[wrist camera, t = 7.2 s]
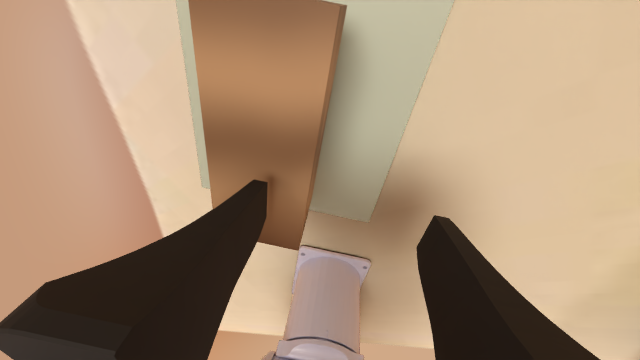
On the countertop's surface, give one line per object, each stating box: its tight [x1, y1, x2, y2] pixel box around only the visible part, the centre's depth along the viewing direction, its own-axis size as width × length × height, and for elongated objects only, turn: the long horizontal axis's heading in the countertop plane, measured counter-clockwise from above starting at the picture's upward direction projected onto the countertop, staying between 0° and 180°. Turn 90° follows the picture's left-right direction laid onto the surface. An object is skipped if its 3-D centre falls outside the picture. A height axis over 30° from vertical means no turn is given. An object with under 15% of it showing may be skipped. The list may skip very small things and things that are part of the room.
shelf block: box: [188, 0, 347, 250], centre depth 14 cm, size 12×5×5 cm, turn 171°
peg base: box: [176, 0, 454, 223], centre depth 17 cm, size 20×16×4 cm
